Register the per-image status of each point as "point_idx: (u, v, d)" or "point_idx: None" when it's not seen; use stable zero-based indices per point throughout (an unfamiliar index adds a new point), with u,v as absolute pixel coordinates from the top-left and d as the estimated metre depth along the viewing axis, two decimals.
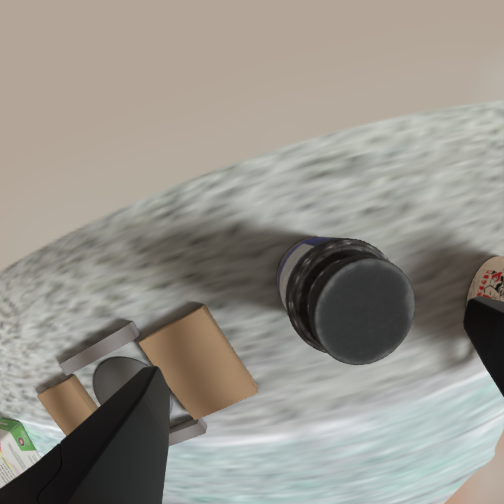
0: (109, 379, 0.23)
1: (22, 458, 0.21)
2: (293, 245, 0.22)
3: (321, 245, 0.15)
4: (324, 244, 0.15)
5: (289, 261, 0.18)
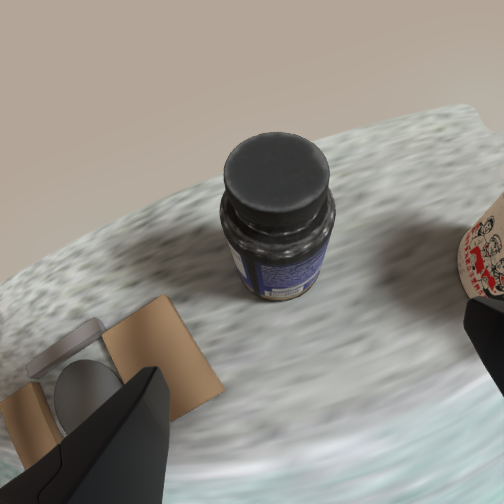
0: (70, 386, 0.20)
1: None
2: None
3: None
4: None
5: None
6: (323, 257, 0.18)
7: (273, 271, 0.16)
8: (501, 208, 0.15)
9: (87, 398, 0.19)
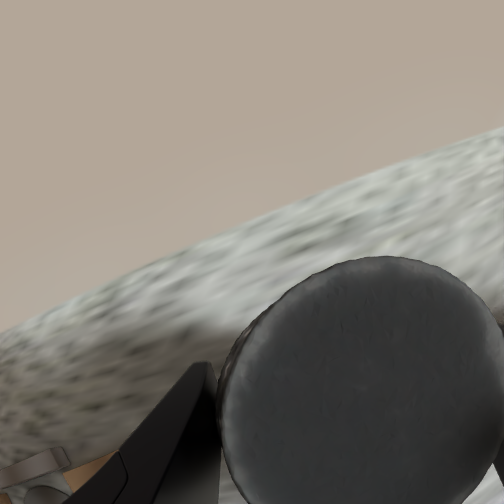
0: None
1: None
2: None
3: None
4: None
5: None
6: None
7: None
8: None
9: None
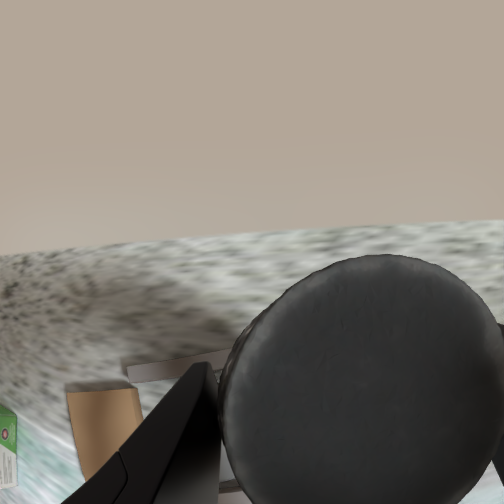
0: None
1: None
2: None
3: None
4: None
5: None
6: None
7: None
8: None
9: None
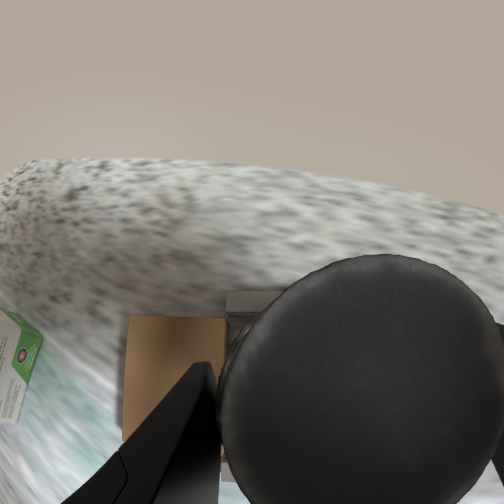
0: None
1: (3, 372, 0.14)
2: None
3: None
4: None
5: None
6: None
7: None
8: None
9: None
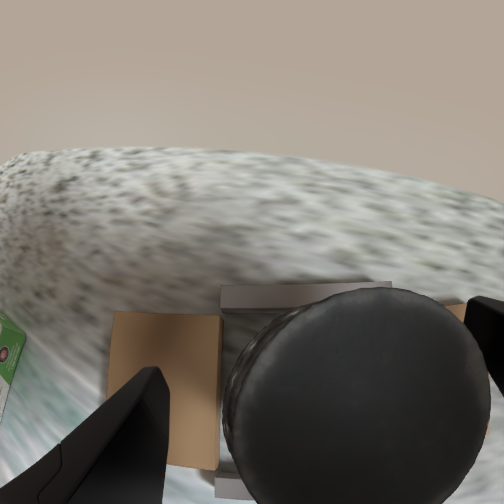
0: None
1: None
2: None
3: (280, 316, 0.08)
4: (285, 313, 0.08)
5: None
6: None
7: None
8: None
9: None
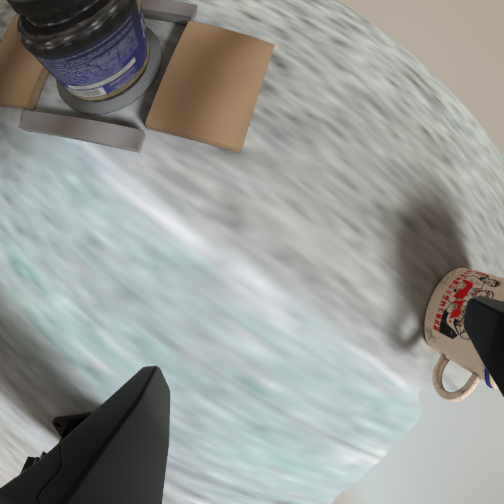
0: None
1: None
2: None
3: None
4: None
5: None
6: (124, 59, 0.12)
7: (49, 64, 0.10)
8: None
9: None
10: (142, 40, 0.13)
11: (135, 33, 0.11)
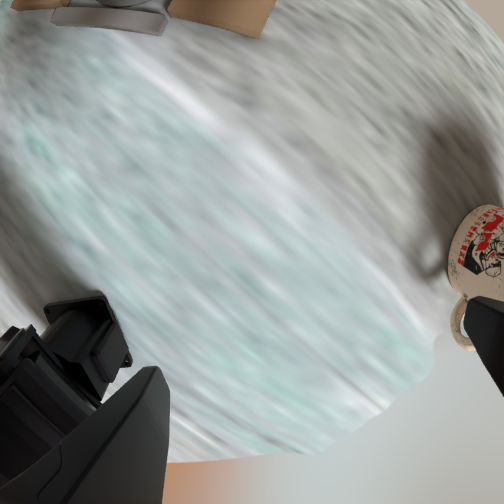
0: None
1: None
2: None
3: None
4: None
5: None
6: None
7: None
8: None
9: None
10: None
11: None
